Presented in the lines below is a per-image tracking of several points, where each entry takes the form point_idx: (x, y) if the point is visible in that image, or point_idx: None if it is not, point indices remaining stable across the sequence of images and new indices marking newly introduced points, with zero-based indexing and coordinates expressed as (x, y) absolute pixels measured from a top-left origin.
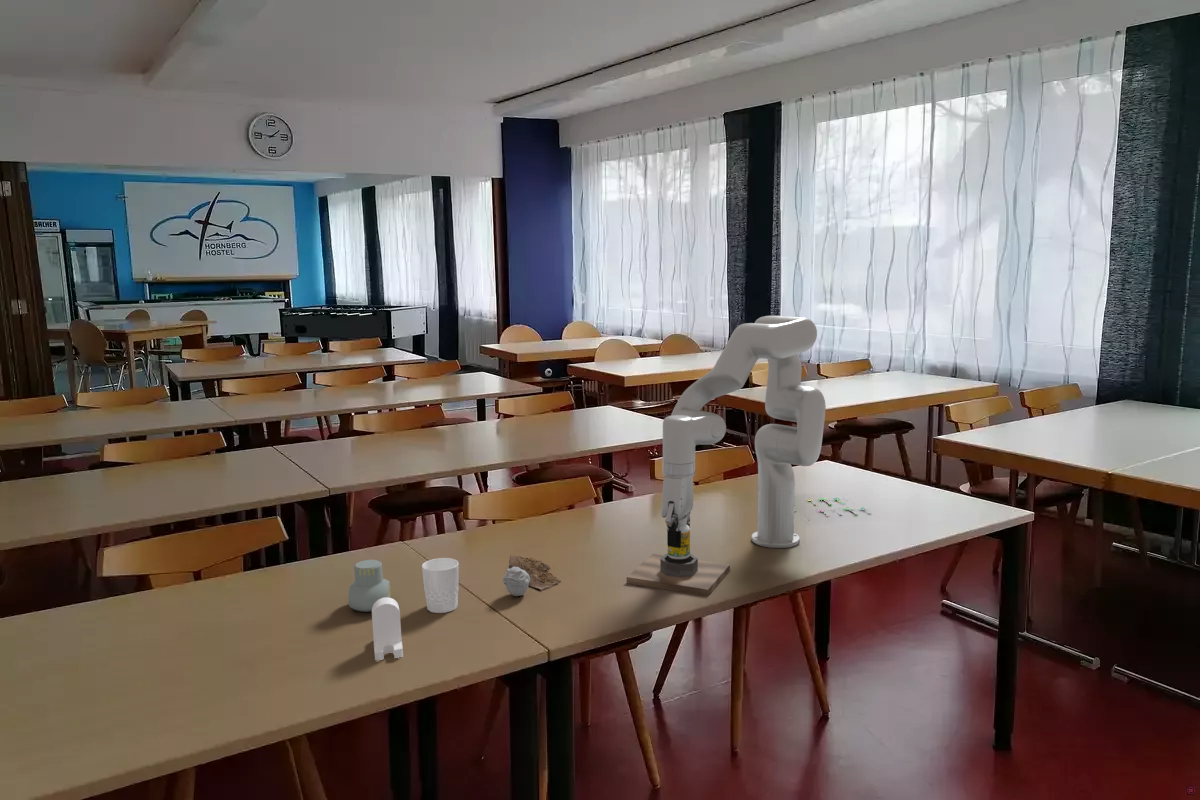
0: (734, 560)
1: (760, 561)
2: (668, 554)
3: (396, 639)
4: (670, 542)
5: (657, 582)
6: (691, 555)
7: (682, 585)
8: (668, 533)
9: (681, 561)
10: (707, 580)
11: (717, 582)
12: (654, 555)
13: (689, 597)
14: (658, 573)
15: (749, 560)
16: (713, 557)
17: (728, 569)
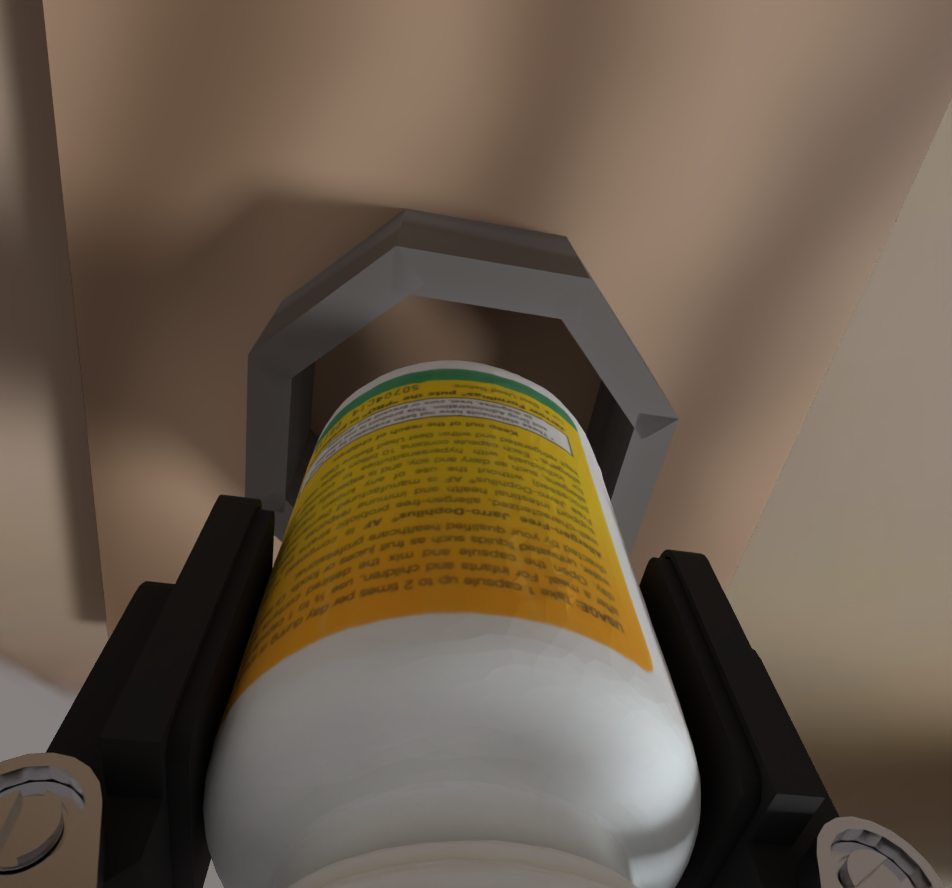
0: (866, 680)
1: (838, 796)
2: (361, 394)
3: None
4: (137, 600)
5: (71, 242)
6: None
7: (93, 488)
8: (141, 679)
9: (604, 417)
10: None
11: None
12: (936, 10)
13: (36, 520)
14: (309, 204)
15: (861, 750)
16: (948, 554)
17: None
